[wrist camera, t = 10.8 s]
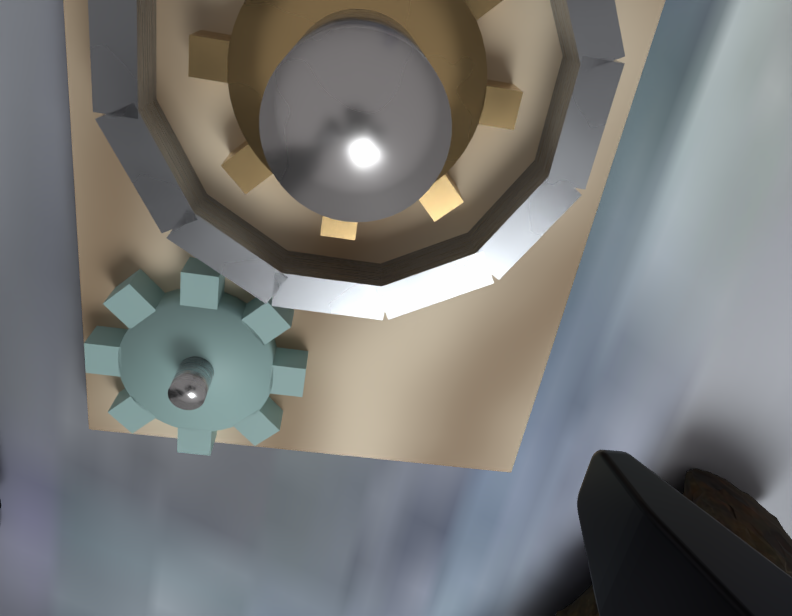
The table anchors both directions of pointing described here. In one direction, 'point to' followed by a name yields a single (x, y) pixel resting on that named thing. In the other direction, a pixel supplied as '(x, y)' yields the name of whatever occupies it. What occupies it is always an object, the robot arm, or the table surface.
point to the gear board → (333, 247)
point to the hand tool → (733, 514)
